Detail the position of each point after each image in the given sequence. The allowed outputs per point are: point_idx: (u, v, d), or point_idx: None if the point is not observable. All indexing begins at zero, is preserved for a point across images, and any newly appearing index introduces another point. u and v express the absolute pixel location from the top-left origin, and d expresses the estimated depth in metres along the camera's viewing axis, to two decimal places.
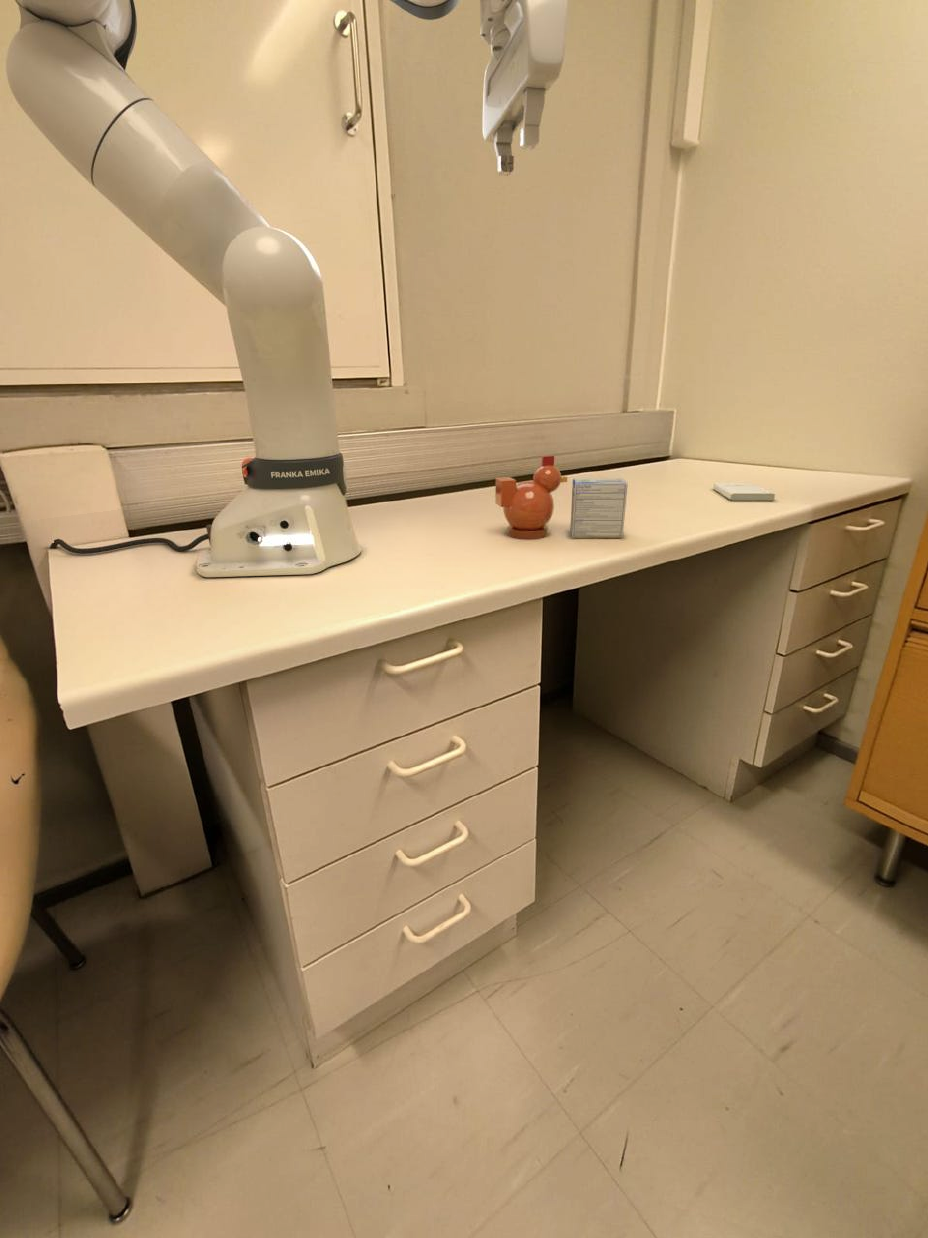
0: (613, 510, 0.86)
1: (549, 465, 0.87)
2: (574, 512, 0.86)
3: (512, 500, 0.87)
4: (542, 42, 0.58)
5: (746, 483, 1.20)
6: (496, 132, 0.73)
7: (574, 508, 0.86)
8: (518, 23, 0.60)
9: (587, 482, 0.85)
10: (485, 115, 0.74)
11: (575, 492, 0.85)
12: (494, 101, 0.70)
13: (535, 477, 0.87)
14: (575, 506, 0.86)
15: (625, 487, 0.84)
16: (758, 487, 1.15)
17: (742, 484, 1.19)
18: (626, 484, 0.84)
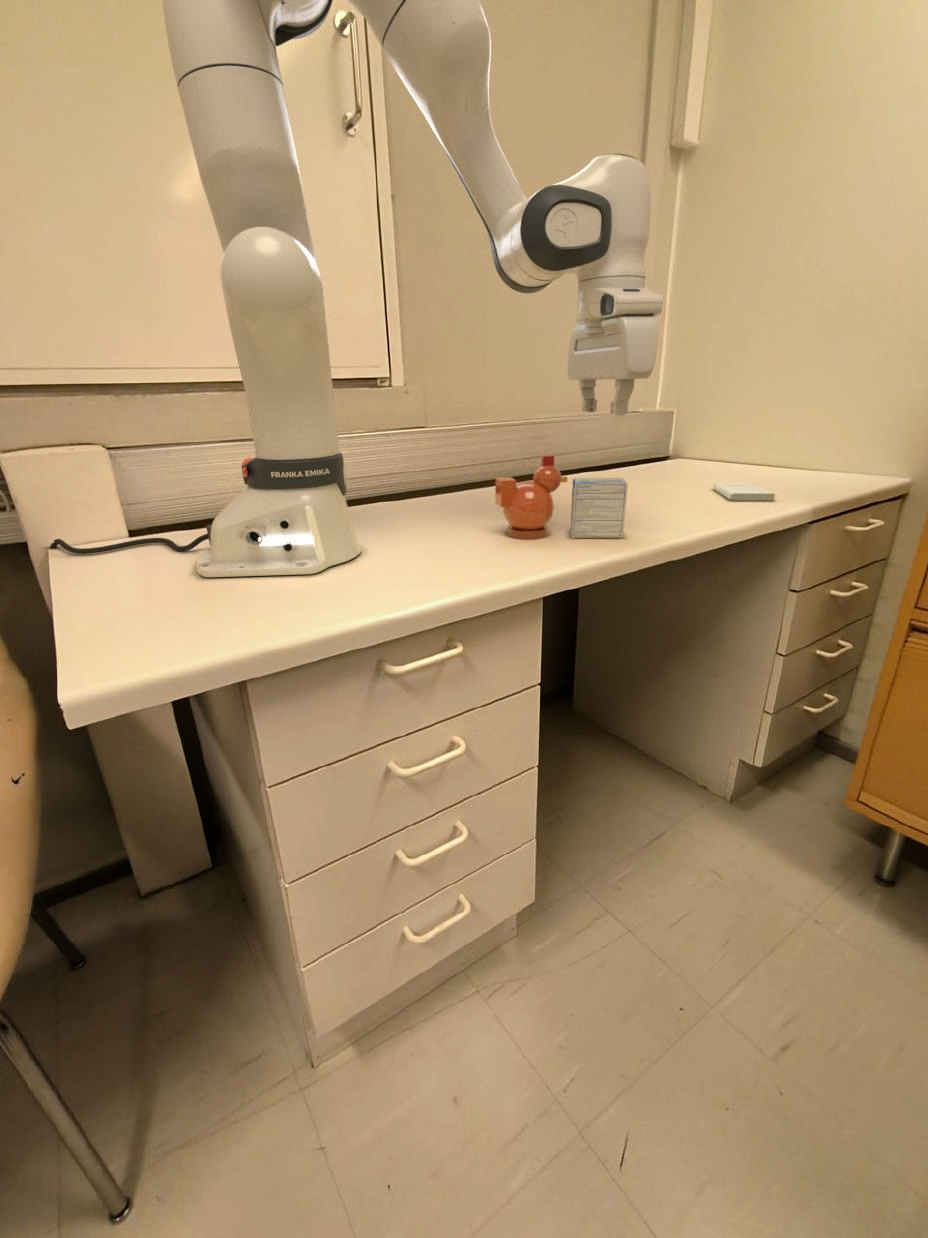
0: (613, 510, 0.86)
1: (549, 465, 0.87)
2: (574, 512, 0.86)
3: (512, 500, 0.87)
4: (638, 358, 0.71)
5: (746, 483, 1.20)
6: (582, 380, 0.85)
7: (574, 508, 0.86)
8: (614, 332, 0.73)
9: (587, 482, 0.85)
10: (571, 362, 0.86)
11: (575, 492, 0.85)
12: (583, 362, 0.83)
13: (535, 477, 0.87)
14: (575, 506, 0.86)
15: (625, 487, 0.84)
16: (758, 487, 1.15)
17: (742, 484, 1.19)
18: (626, 484, 0.84)
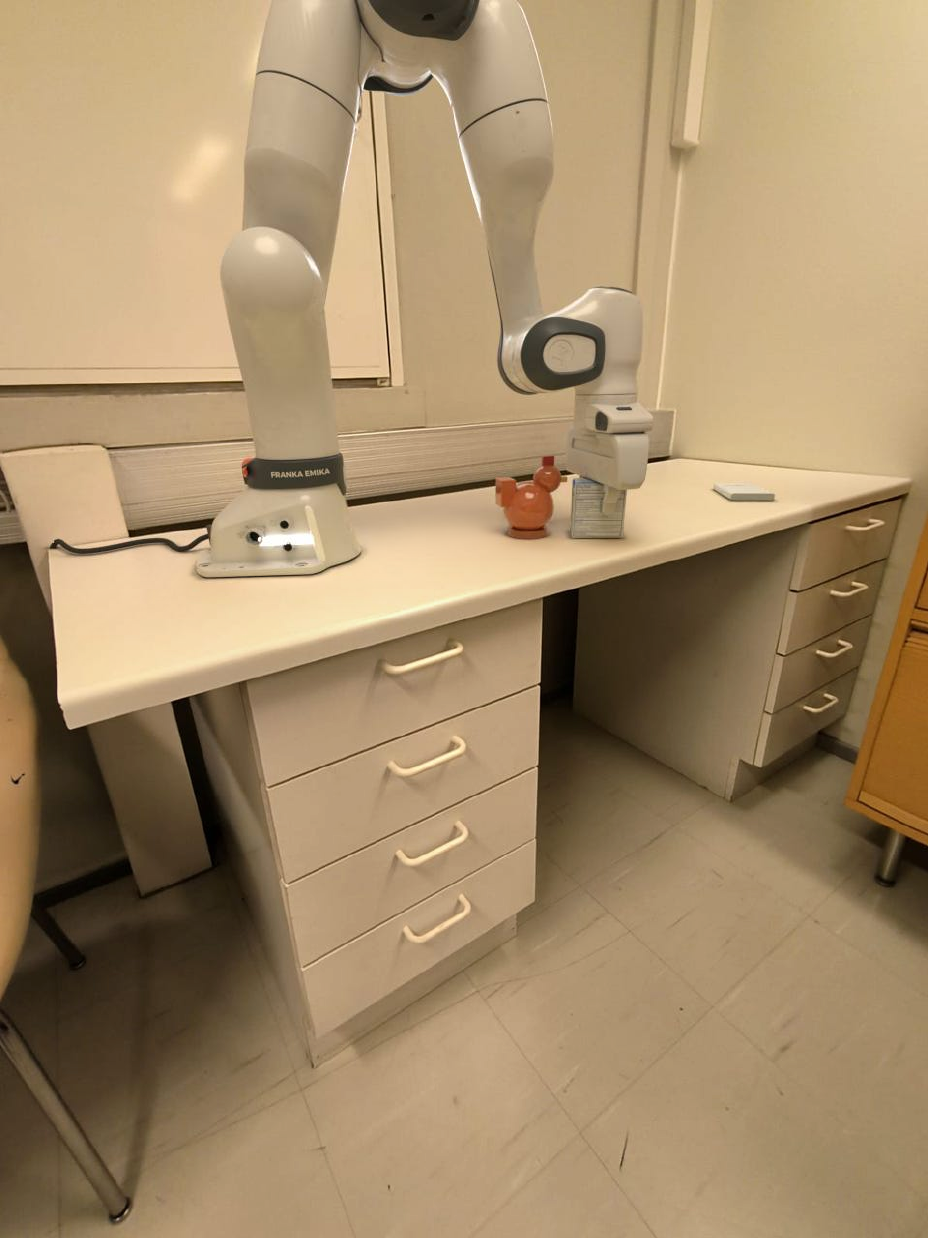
0: None
1: (549, 465, 0.87)
2: (574, 512, 0.86)
3: (512, 500, 0.87)
4: (629, 473, 0.76)
5: (746, 483, 1.20)
6: (582, 476, 0.90)
7: (574, 508, 0.86)
8: (608, 445, 0.78)
9: (587, 482, 0.85)
10: (568, 457, 0.92)
11: (575, 492, 0.85)
12: (579, 460, 0.88)
13: (535, 477, 0.87)
14: (575, 506, 0.86)
15: None
16: (758, 487, 1.15)
17: (742, 484, 1.19)
18: None
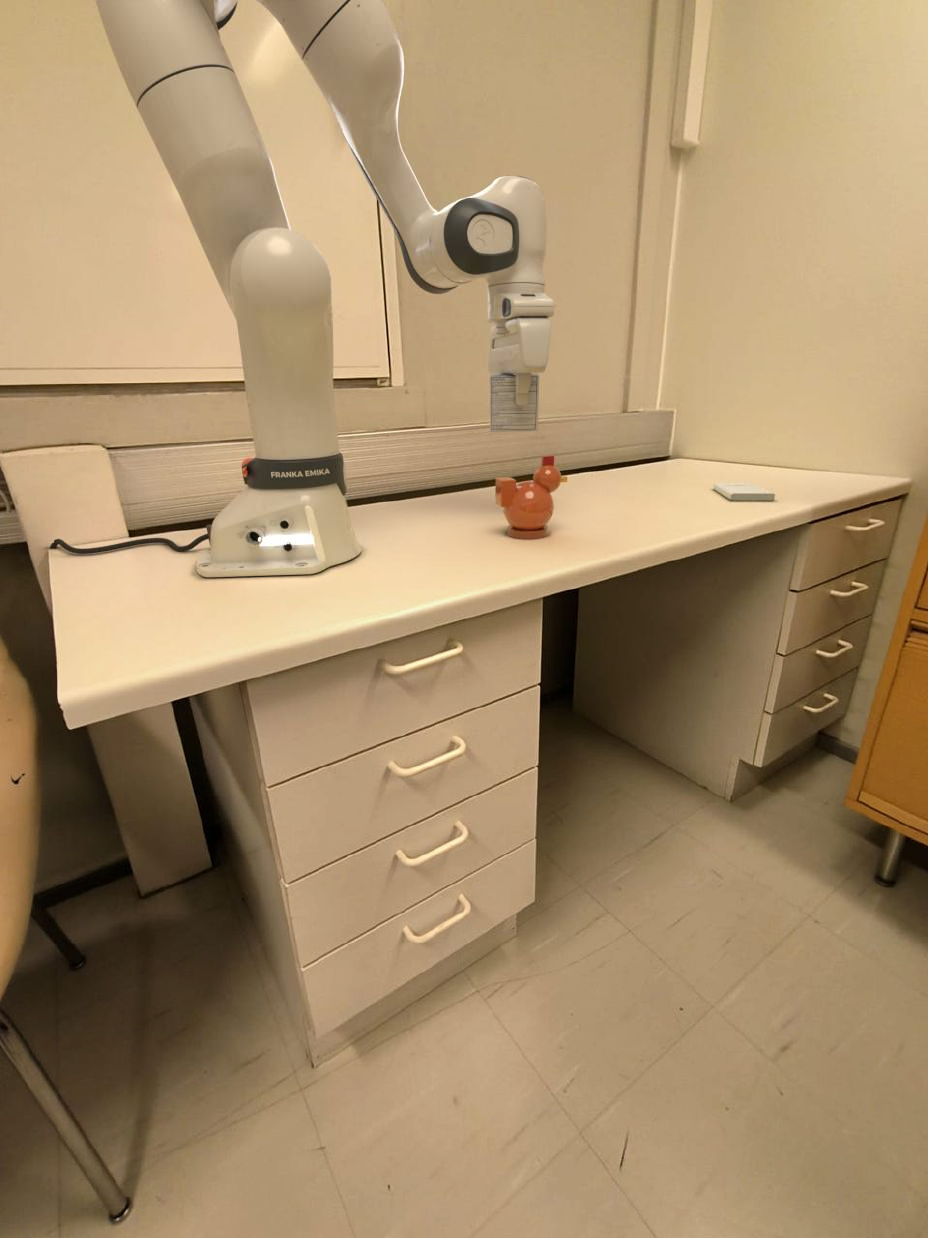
0: None
1: (549, 465, 0.87)
2: (491, 405, 0.91)
3: (512, 500, 0.87)
4: (532, 355, 0.81)
5: (746, 483, 1.20)
6: None
7: (490, 401, 0.91)
8: (515, 332, 0.83)
9: (502, 375, 0.90)
10: (490, 359, 0.97)
11: (490, 385, 0.90)
12: (497, 358, 0.93)
13: (535, 477, 0.87)
14: (491, 399, 0.91)
15: (537, 379, 0.89)
16: (758, 487, 1.15)
17: (742, 484, 1.19)
18: (538, 376, 0.89)
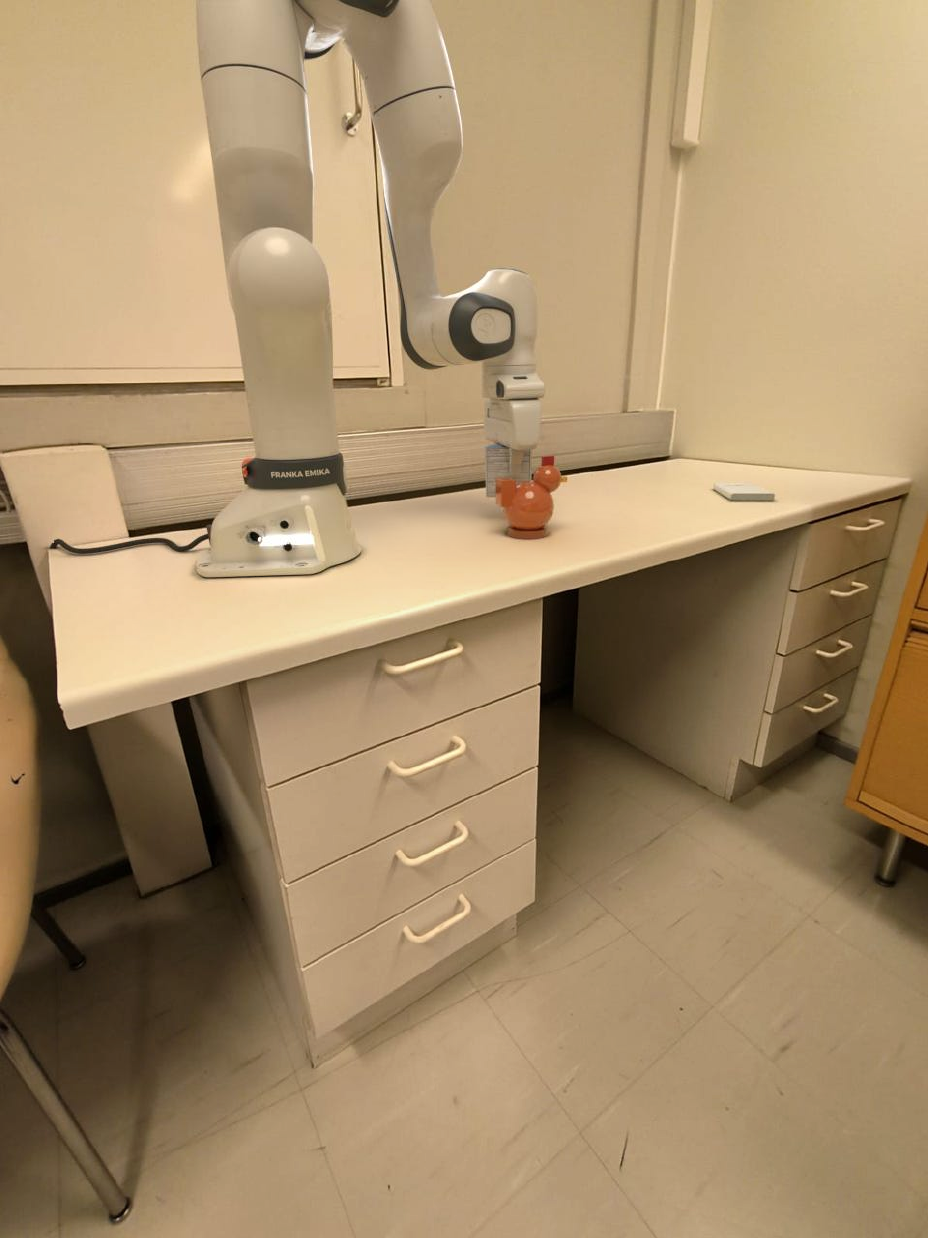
0: None
1: (549, 465, 0.87)
2: (486, 474, 0.96)
3: (512, 500, 0.87)
4: (524, 434, 0.86)
5: (746, 483, 1.20)
6: (496, 442, 0.99)
7: (486, 470, 0.96)
8: (508, 410, 0.88)
9: (496, 446, 0.95)
10: (485, 426, 1.02)
11: (486, 455, 0.95)
12: (492, 428, 0.98)
13: (535, 477, 0.87)
14: (486, 468, 0.96)
15: (529, 450, 0.94)
16: (758, 487, 1.15)
17: (742, 484, 1.19)
18: None
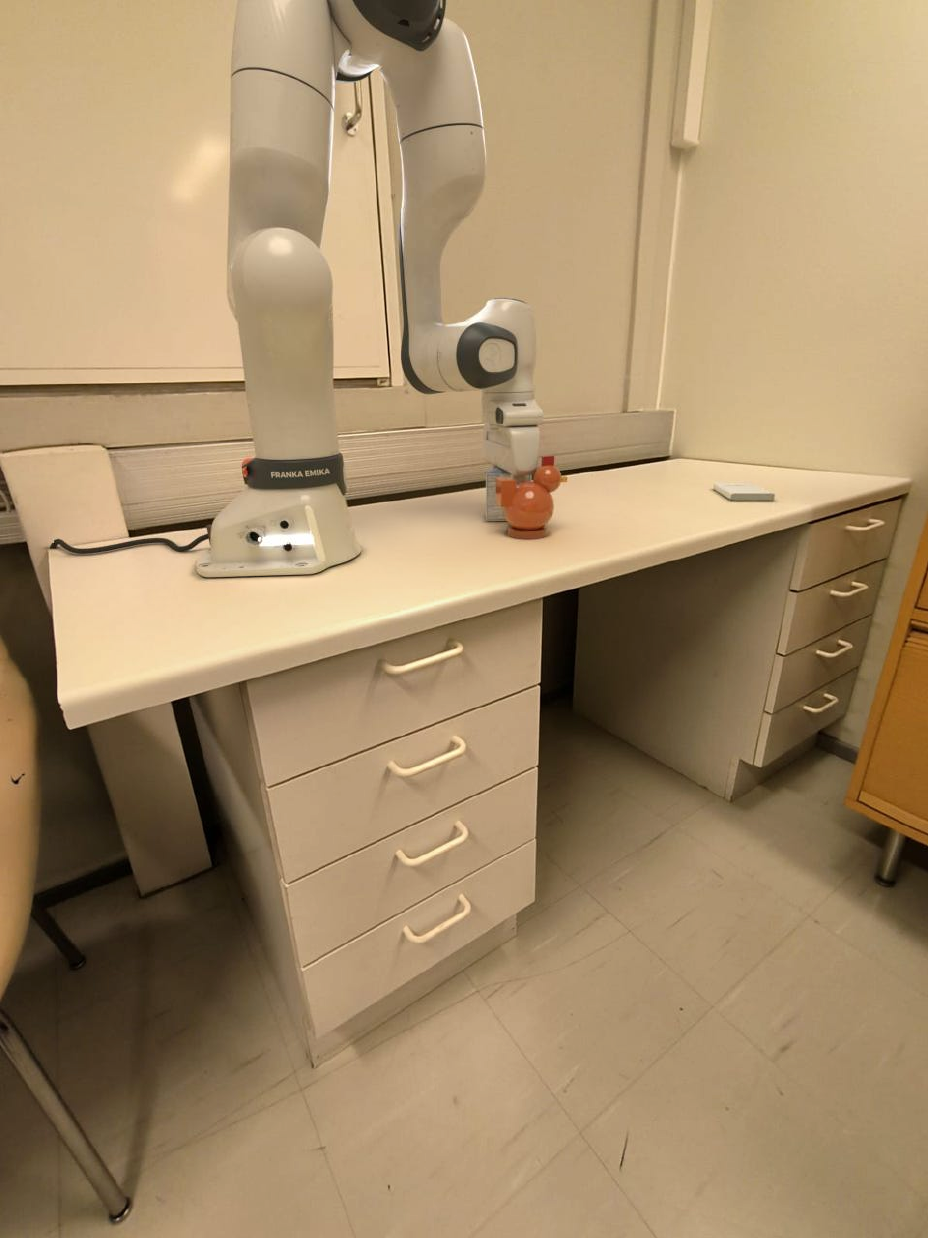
0: None
1: (549, 465, 0.87)
2: (487, 498, 0.98)
3: (512, 500, 0.87)
4: (523, 461, 0.87)
5: (746, 483, 1.20)
6: (492, 464, 1.02)
7: (486, 494, 0.98)
8: (507, 436, 0.90)
9: (497, 471, 0.96)
10: (485, 448, 1.03)
11: (486, 480, 0.97)
12: (491, 451, 0.99)
13: (535, 477, 0.87)
14: (487, 493, 0.97)
15: (529, 476, 0.96)
16: (758, 487, 1.15)
17: (742, 484, 1.19)
18: None
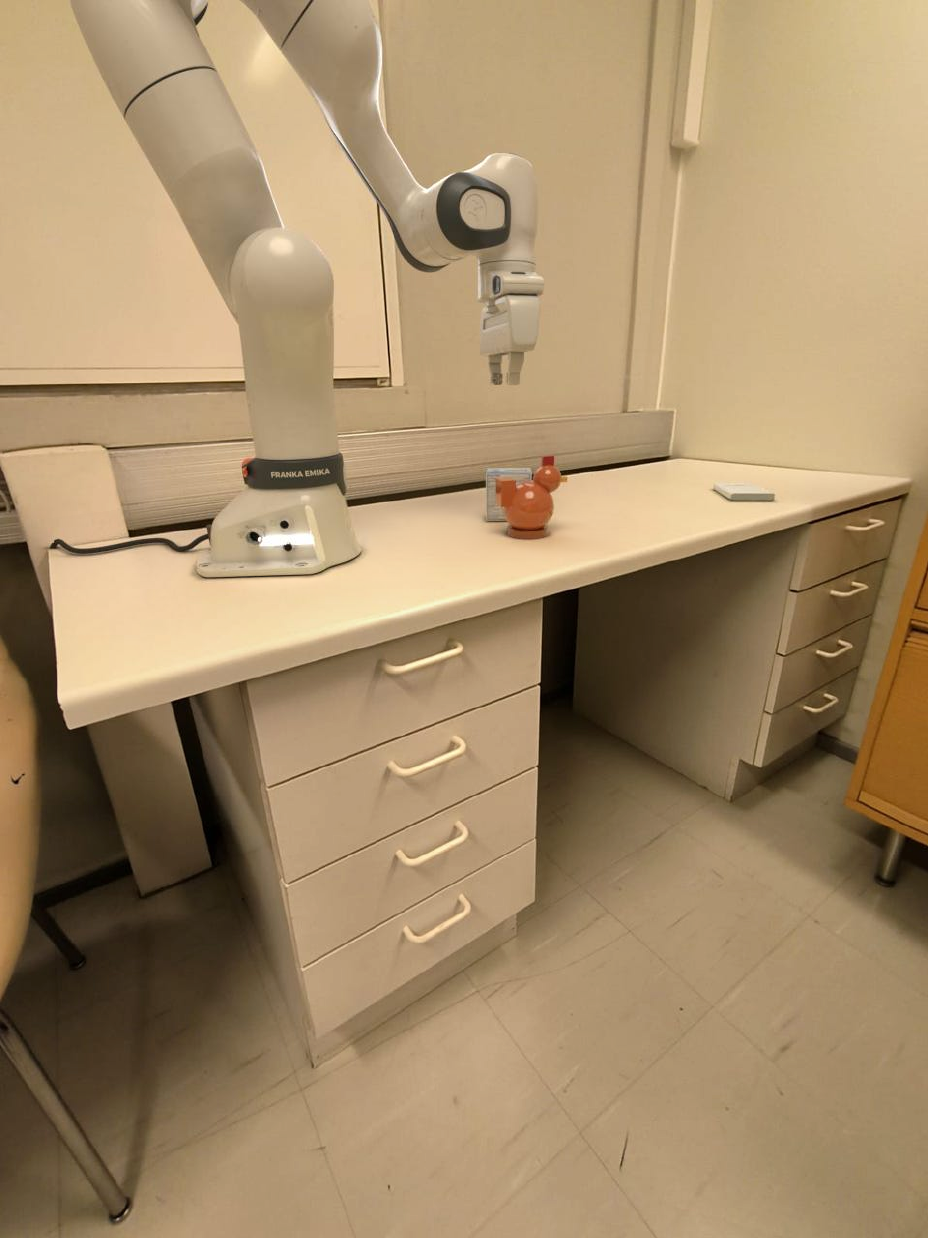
0: None
1: (549, 465, 0.87)
2: (487, 498, 0.98)
3: (512, 500, 0.87)
4: (521, 332, 0.81)
5: (746, 483, 1.20)
6: (489, 356, 0.95)
7: (486, 494, 0.98)
8: (505, 309, 0.83)
9: (497, 471, 0.96)
10: (481, 340, 0.97)
11: (486, 480, 0.97)
12: (488, 339, 0.93)
13: (535, 477, 0.87)
14: (487, 493, 0.97)
15: (529, 476, 0.96)
16: (758, 487, 1.15)
17: (742, 484, 1.19)
18: (530, 473, 0.95)
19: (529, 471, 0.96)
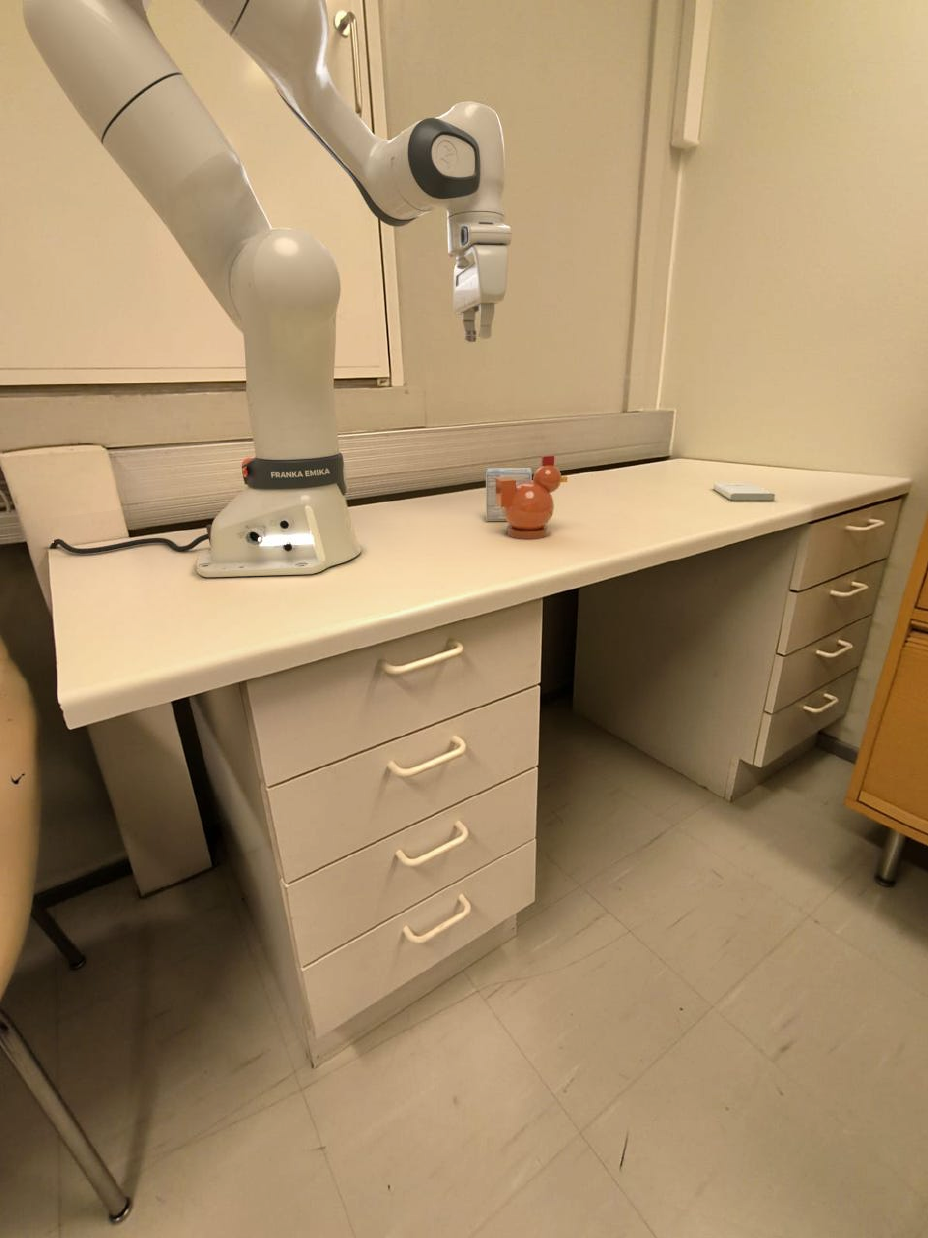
0: None
1: (549, 465, 0.87)
2: (487, 498, 0.98)
3: (512, 500, 0.87)
4: (489, 282, 0.81)
5: (746, 483, 1.20)
6: (463, 313, 0.96)
7: (486, 494, 0.98)
8: (473, 261, 0.84)
9: (497, 471, 0.96)
10: (455, 298, 0.97)
11: (486, 480, 0.97)
12: (460, 295, 0.93)
13: (535, 477, 0.87)
14: (487, 493, 0.97)
15: (529, 476, 0.96)
16: (758, 487, 1.15)
17: (742, 484, 1.19)
18: (530, 473, 0.95)
19: (529, 471, 0.96)
